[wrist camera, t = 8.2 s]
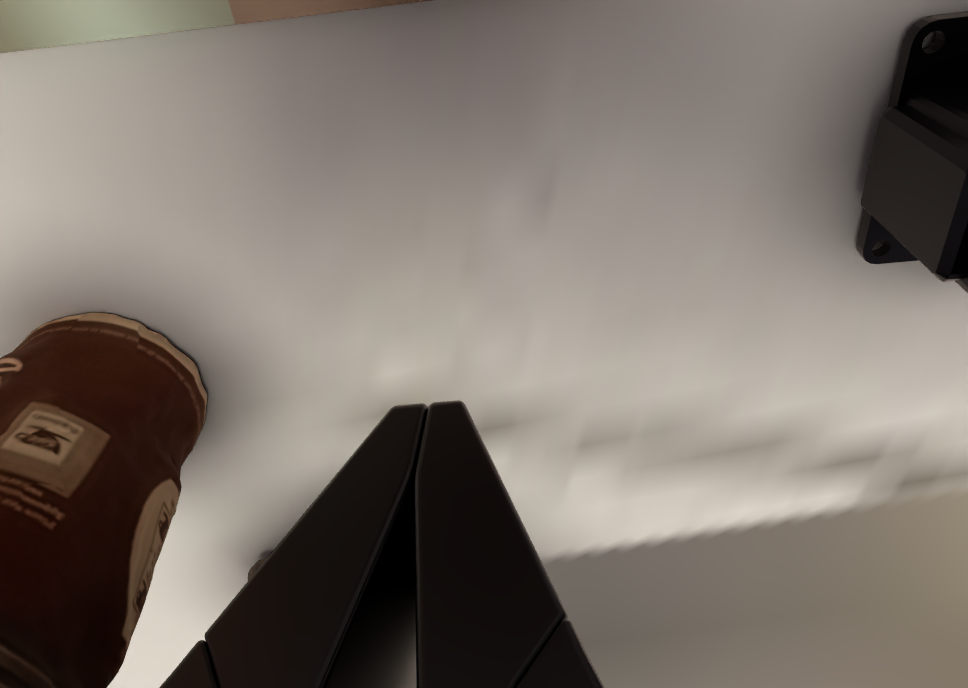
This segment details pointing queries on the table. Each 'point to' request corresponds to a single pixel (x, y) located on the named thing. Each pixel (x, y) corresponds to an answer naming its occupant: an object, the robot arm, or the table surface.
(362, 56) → the table surface
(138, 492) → the coffee cup
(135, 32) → the board
